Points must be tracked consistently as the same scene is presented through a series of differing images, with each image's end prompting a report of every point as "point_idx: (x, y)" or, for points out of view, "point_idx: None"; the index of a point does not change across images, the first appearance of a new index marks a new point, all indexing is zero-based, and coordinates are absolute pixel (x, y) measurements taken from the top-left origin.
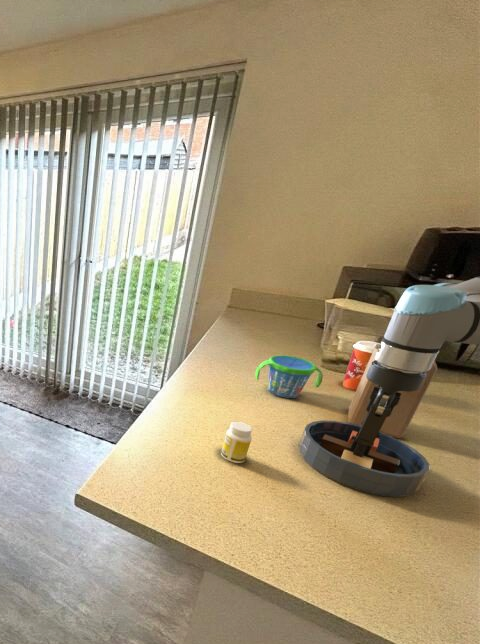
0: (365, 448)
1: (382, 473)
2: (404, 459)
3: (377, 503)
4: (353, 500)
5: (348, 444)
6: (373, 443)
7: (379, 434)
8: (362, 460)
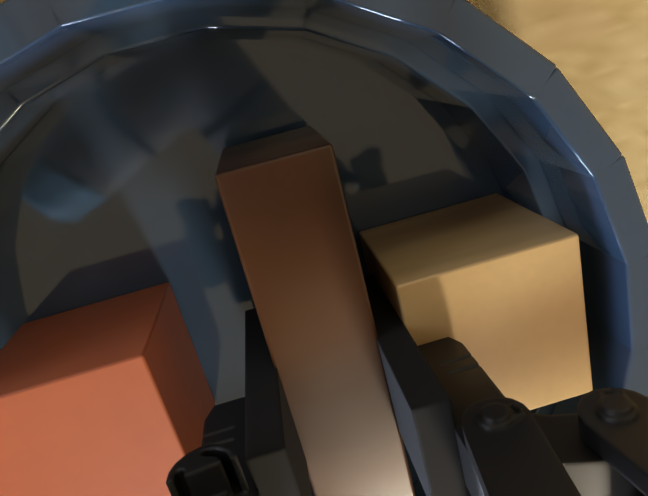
0: (498, 390)
1: (620, 157)
2: None
3: (567, 77)
4: (644, 158)
5: (351, 465)
6: (637, 412)
7: (202, 474)
8: (495, 314)
